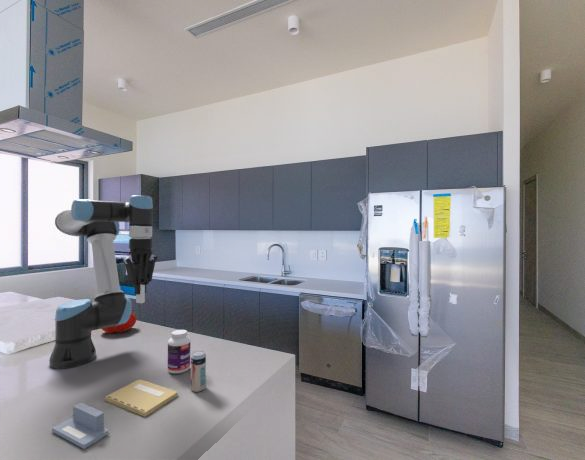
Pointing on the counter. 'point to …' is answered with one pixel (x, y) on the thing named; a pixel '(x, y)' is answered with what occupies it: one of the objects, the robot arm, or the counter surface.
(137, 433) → the counter surface
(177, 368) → the pill bottle
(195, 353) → the beer can
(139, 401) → the tan notebook
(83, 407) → the stub
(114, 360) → the counter surface
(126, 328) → the red rounded piece
